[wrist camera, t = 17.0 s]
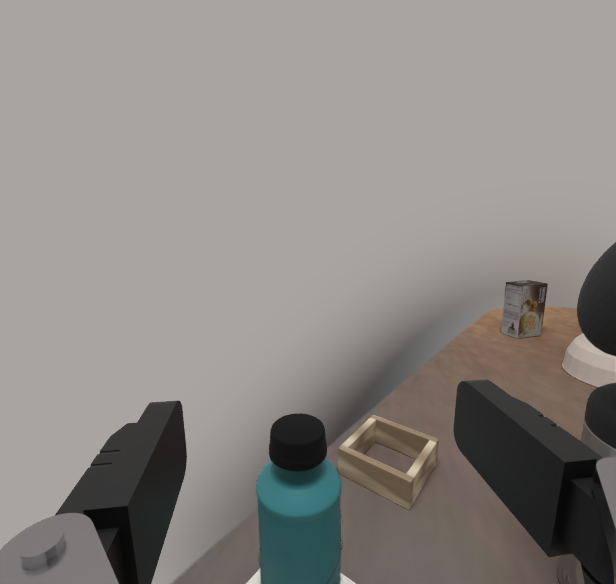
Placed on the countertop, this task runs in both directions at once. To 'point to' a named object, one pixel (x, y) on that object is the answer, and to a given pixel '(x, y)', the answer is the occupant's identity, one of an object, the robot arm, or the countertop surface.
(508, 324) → the coffee box
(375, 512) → the countertop surface
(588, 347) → the kettle
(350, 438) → the rectangular wooden frame
